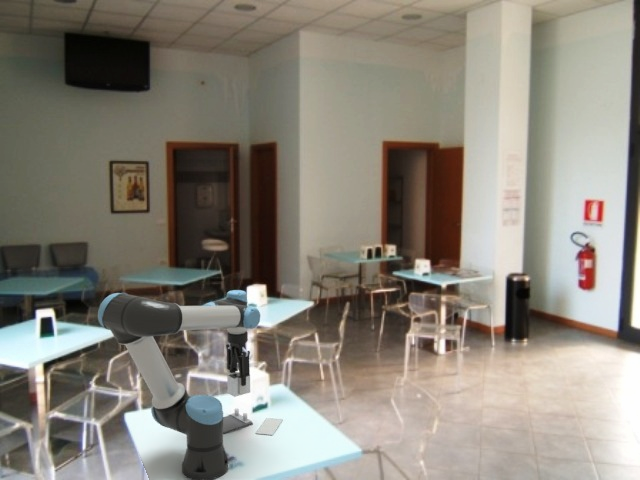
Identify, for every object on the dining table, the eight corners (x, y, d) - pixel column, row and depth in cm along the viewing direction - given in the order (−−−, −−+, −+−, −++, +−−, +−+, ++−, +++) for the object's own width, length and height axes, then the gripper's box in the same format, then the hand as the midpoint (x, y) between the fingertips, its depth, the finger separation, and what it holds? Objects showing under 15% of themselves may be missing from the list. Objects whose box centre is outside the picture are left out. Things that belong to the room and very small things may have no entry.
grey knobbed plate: (217, 436, 217) (217, 426, 217) (200, 426, 226) (200, 416, 226) (252, 424, 228) (252, 415, 227) (235, 415, 237) (235, 406, 236)
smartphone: (254, 433, 219) (266, 417, 234) (254, 435, 219) (266, 419, 234) (272, 435, 218) (283, 419, 232) (272, 436, 218) (283, 420, 232)
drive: (234, 396, 218) (234, 378, 217) (227, 393, 222) (227, 374, 221) (250, 392, 223) (250, 374, 222) (243, 388, 227) (243, 370, 226)
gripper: (259, 334, 215) (259, 395, 218) (233, 325, 229) (234, 382, 232) (241, 338, 210) (242, 400, 213) (216, 328, 224) (218, 386, 227)
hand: (238, 390), depth 222 cm, fingers closed on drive, 5 cm apart
